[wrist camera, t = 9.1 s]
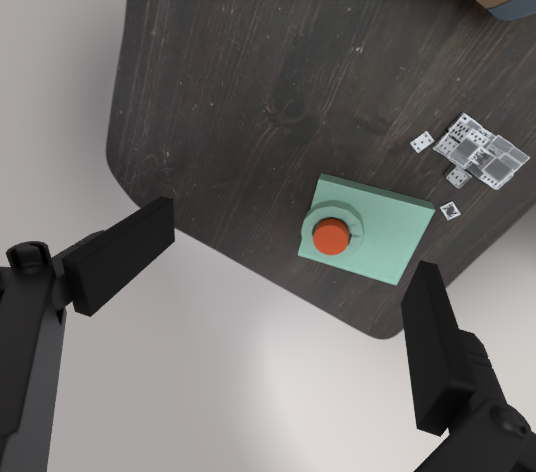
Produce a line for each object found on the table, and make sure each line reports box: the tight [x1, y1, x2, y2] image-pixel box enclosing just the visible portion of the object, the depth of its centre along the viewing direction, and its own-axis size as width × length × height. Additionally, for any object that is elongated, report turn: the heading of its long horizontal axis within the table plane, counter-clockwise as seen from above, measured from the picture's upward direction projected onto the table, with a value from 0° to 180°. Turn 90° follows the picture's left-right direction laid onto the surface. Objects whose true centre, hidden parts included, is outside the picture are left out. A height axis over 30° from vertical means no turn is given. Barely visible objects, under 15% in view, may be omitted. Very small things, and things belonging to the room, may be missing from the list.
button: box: [313, 218, 349, 255], centre depth 33 cm, size 4×4×2 cm
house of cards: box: [410, 112, 530, 220], centre depth 28 cm, size 9×9×8 cm
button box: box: [298, 173, 435, 285], centre depth 35 cm, size 12×10×4 cm
